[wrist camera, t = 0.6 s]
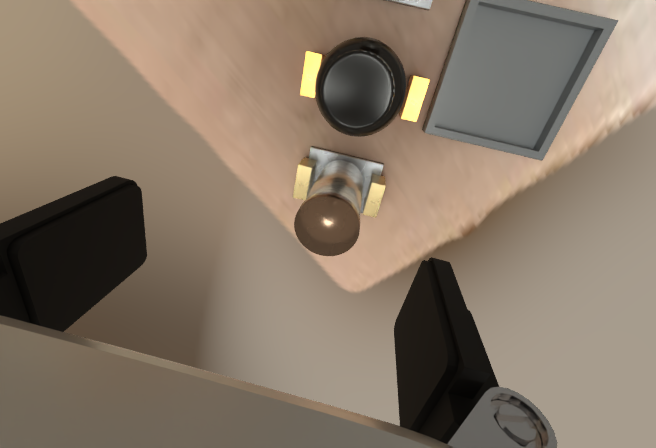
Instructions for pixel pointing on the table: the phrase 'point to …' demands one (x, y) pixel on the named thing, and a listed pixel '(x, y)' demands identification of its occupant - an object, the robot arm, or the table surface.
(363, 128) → the supplement bottle
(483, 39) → the tray
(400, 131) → the table surface
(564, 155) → the table surface
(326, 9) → the table surface
